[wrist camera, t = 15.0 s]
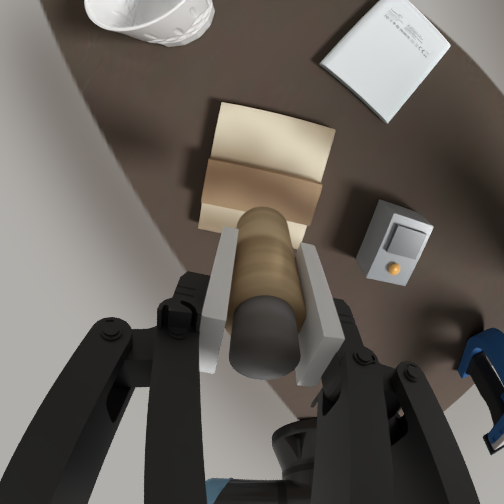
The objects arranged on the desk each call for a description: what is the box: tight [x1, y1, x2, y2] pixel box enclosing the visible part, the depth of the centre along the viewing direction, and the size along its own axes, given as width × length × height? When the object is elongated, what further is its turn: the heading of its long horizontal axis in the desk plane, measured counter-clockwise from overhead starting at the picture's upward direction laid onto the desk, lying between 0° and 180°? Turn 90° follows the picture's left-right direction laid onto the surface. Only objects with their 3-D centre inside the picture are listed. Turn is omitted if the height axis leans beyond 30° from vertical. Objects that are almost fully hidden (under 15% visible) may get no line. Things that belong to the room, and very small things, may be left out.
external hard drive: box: [319, 0, 450, 123], centre depth 20 cm, size 2×8×12 cm
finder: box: [356, 199, 434, 286], centre depth 27 cm, size 7×5×4 cm
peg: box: [225, 207, 306, 380], centre depth 14 cm, size 3×3×10 cm
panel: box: [198, 102, 336, 249], centre depth 26 cm, size 12×10×2 cm
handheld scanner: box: [458, 328, 504, 455], centre depth 30 cm, size 5×16×20 cm, turn 16°
